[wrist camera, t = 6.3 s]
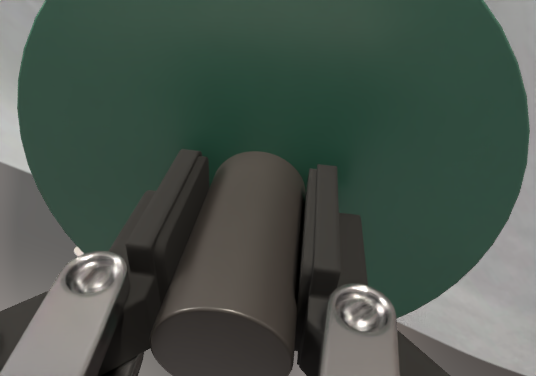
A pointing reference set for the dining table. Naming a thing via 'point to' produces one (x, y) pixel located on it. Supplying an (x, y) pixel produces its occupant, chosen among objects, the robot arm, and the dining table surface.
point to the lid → (276, 147)
